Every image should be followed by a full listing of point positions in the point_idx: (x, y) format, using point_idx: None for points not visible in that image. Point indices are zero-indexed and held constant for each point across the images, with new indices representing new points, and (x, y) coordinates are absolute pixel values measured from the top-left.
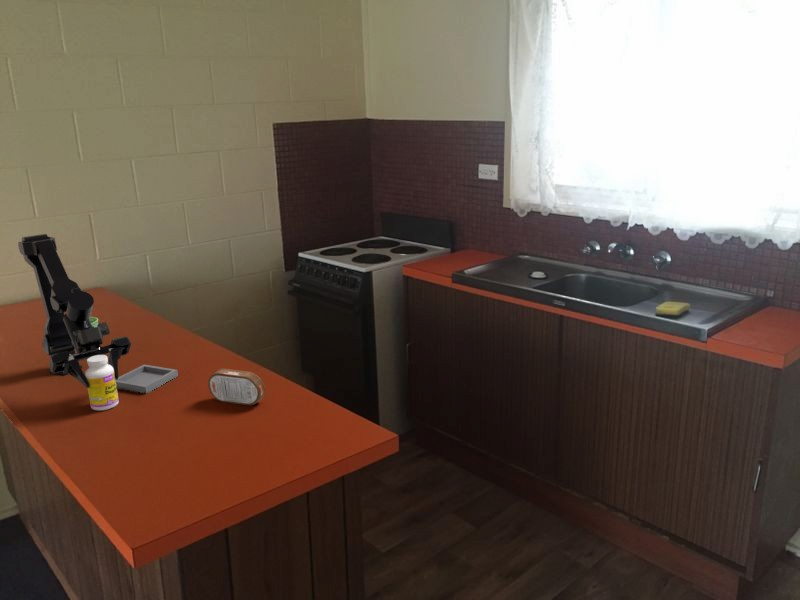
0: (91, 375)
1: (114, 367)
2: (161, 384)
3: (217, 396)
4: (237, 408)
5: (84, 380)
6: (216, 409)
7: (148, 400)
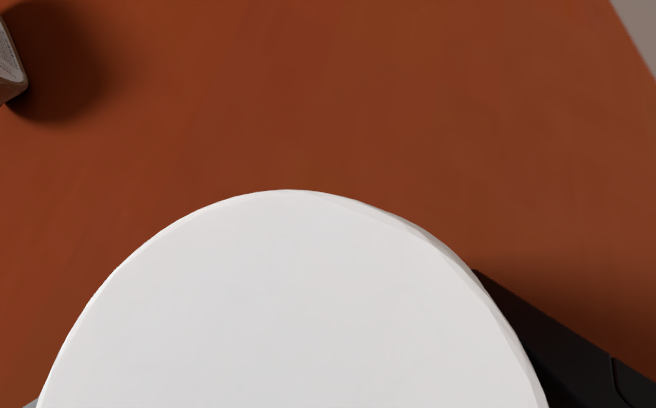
0: (442, 243)
1: None
2: None
3: (13, 78)
4: (35, 24)
5: (515, 301)
6: (72, 44)
7: None
